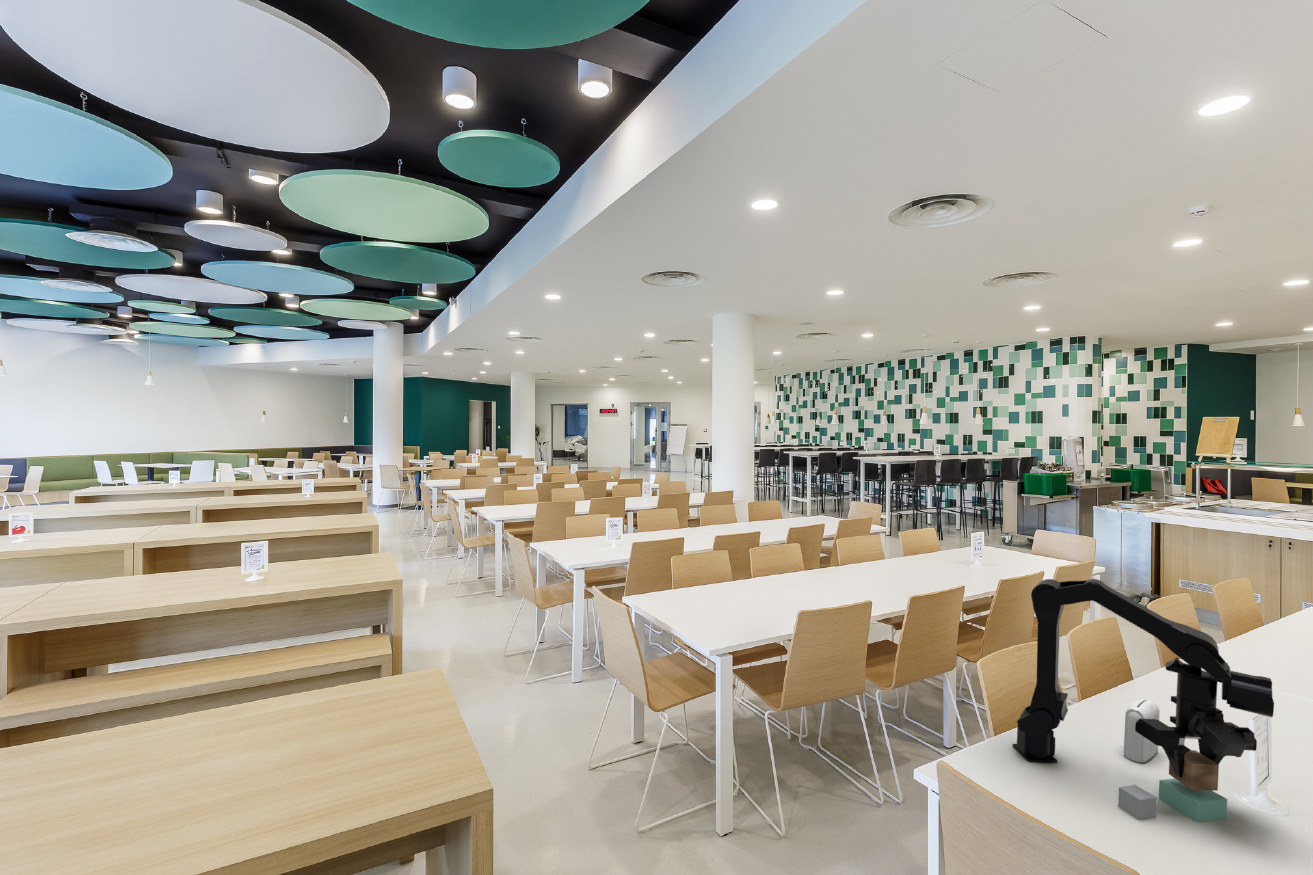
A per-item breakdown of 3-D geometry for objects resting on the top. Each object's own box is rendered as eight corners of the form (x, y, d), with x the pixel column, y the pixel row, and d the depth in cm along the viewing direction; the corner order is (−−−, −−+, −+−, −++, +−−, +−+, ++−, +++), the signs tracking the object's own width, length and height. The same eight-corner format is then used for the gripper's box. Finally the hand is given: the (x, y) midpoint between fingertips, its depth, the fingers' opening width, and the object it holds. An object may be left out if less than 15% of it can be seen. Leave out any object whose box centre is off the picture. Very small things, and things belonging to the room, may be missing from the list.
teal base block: (1196, 823, 110) (1197, 802, 110) (1158, 799, 117) (1159, 779, 117) (1226, 819, 111) (1227, 798, 111) (1186, 796, 118) (1187, 776, 118)
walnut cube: (1190, 789, 112) (1191, 763, 112) (1168, 773, 117) (1169, 749, 117) (1217, 790, 111) (1218, 764, 111) (1194, 774, 116) (1195, 750, 116)
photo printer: (1137, 743, 138) (1139, 691, 137) (1160, 752, 134) (1162, 699, 134) (1120, 756, 132) (1122, 702, 132) (1144, 766, 128) (1146, 710, 128)
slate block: (1139, 820, 110) (1140, 799, 110) (1118, 807, 114) (1119, 786, 114) (1155, 817, 111) (1156, 797, 111) (1134, 804, 115) (1135, 784, 115)
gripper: (1182, 716, 106) (1178, 801, 106) (1289, 721, 105) (1284, 805, 106) (1134, 688, 117) (1131, 765, 117) (1230, 692, 116) (1226, 769, 117)
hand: (1192, 776), depth 114 cm, fingers closed on walnut cube, 5 cm apart
